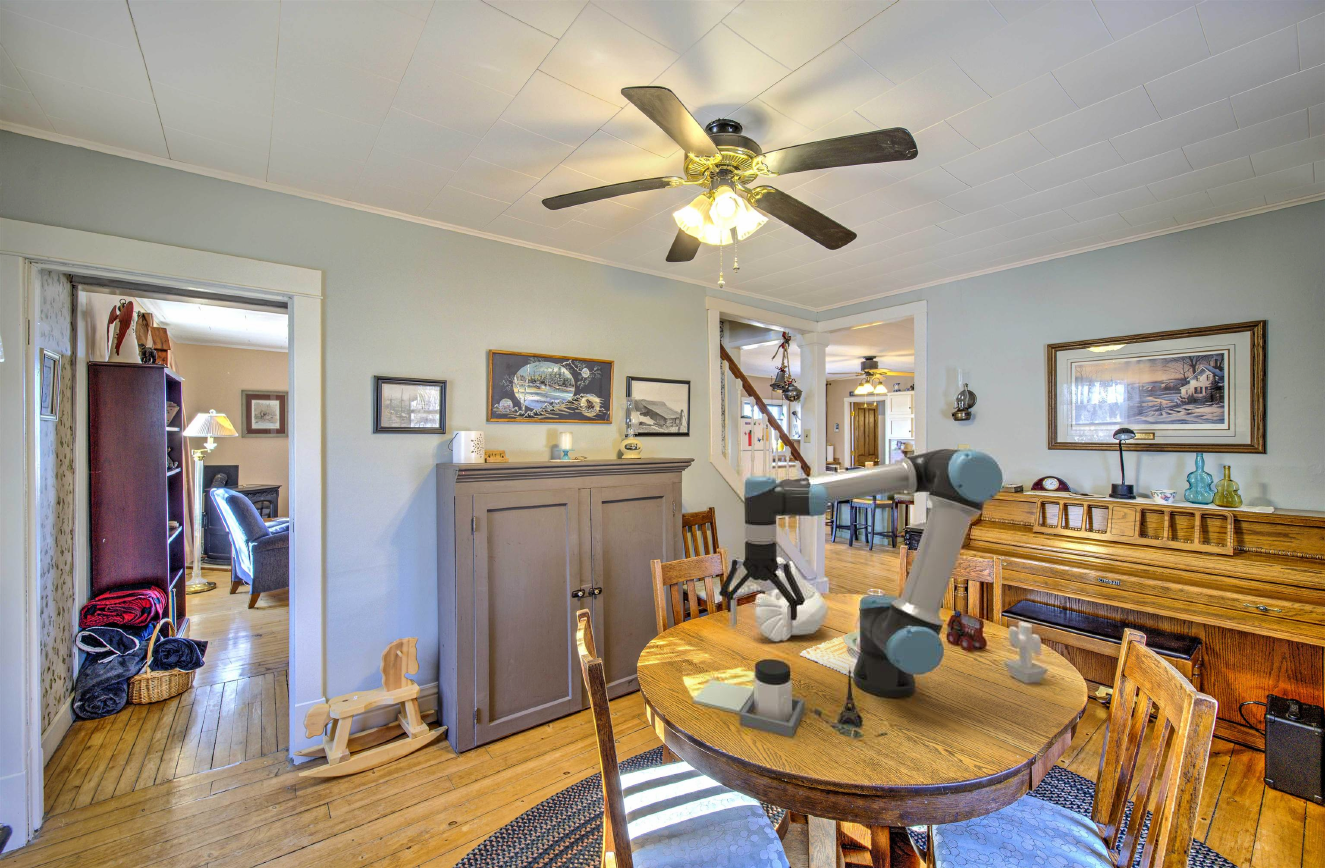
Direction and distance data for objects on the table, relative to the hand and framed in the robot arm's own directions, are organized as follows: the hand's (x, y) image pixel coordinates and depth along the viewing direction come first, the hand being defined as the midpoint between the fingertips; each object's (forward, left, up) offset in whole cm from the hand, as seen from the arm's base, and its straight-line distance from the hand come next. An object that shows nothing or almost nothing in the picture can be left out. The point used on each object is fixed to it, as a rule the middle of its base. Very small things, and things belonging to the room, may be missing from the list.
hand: (761, 629), depth 127 cm
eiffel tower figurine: (-19, -4, -20) cm, 28 cm away
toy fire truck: (-46, -66, -20) cm, 83 cm away
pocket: (-3, +2, -19) cm, 20 cm away
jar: (-3, +2, -20) cm, 20 cm away
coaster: (+10, -2, -19) cm, 22 cm away
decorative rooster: (+6, -51, -20) cm, 55 cm away
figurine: (-59, -47, -20) cm, 78 cm away
